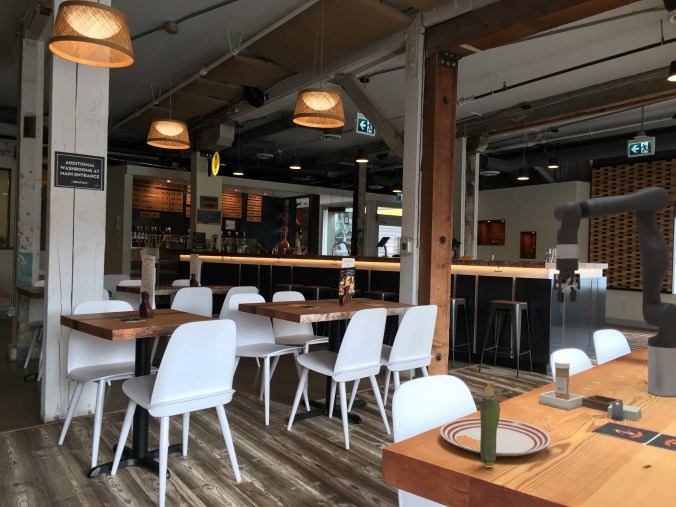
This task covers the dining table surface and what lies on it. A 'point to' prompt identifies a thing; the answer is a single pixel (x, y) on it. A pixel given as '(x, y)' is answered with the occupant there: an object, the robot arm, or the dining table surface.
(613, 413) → the cylinder
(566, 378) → the sprinkles bottle
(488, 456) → the vegetable
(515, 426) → the dinner plate
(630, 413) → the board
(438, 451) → the dining table surface
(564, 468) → the dining table surface
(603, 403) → the socket block
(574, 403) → the tray
